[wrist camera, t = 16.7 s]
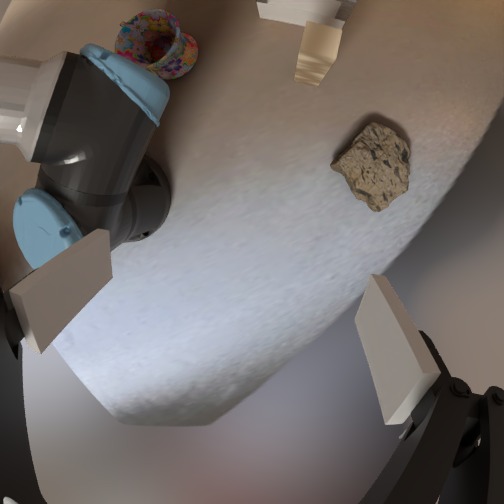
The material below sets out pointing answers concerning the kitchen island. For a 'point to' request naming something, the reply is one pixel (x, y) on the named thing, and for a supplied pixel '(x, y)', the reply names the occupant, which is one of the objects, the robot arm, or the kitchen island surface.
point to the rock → (375, 166)
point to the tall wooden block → (317, 52)
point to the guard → (342, 10)
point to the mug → (157, 44)
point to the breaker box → (301, 12)
